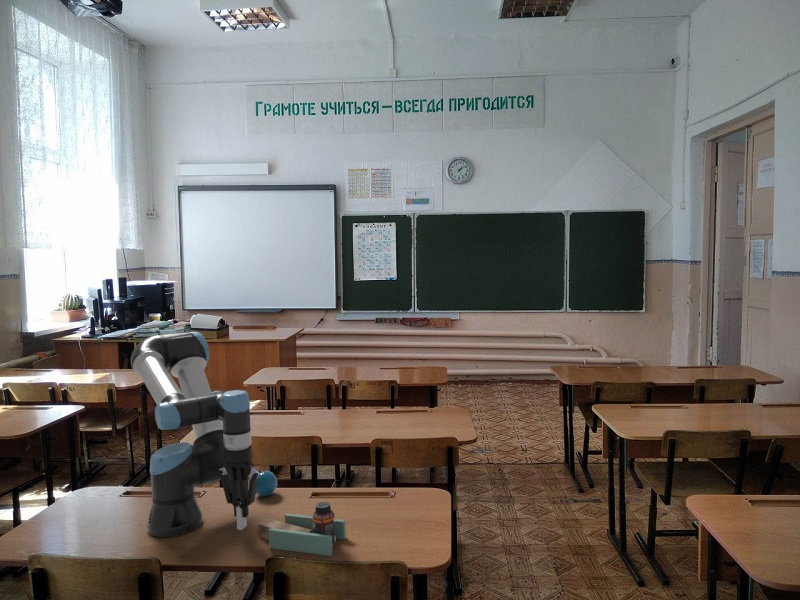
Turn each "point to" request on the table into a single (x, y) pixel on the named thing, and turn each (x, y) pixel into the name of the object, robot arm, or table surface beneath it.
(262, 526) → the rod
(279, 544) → the channel
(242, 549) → the table surface
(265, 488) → the ball
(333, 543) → the supplement bottle
